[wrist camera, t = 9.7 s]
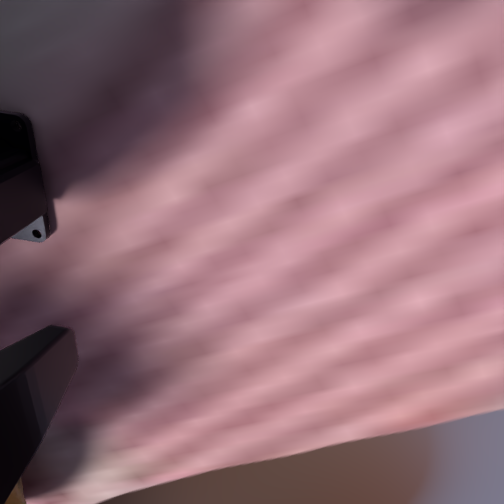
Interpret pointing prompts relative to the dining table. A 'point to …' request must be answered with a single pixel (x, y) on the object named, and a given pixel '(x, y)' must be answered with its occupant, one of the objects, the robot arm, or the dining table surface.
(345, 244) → the dining table surface
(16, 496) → the ceramic pitcher
